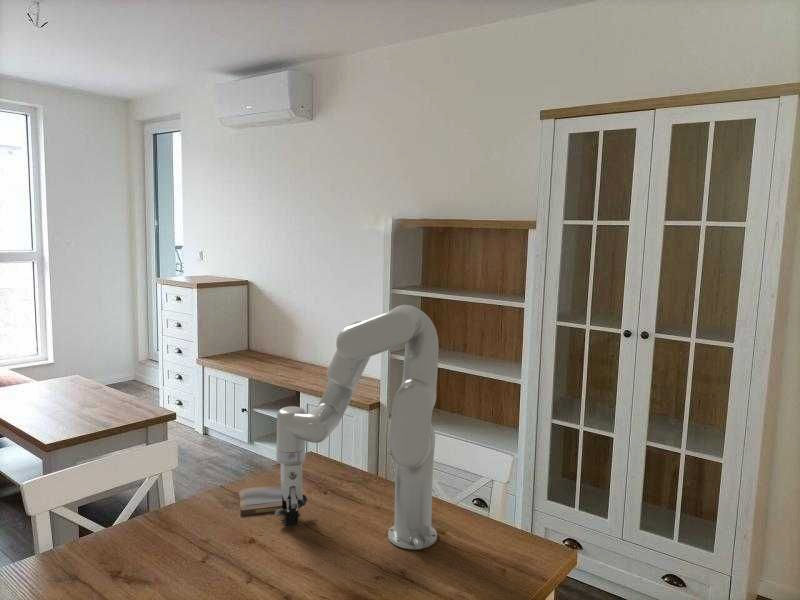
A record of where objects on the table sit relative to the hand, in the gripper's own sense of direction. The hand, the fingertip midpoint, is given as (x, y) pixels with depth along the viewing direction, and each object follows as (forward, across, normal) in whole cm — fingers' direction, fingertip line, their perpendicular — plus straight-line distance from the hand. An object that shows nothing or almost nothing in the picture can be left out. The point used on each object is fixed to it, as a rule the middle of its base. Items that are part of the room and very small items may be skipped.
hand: (289, 516), depth 157 cm
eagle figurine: (+2, +1, -1) cm, 3 cm away
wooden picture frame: (+2, +15, +6) cm, 16 cm away
